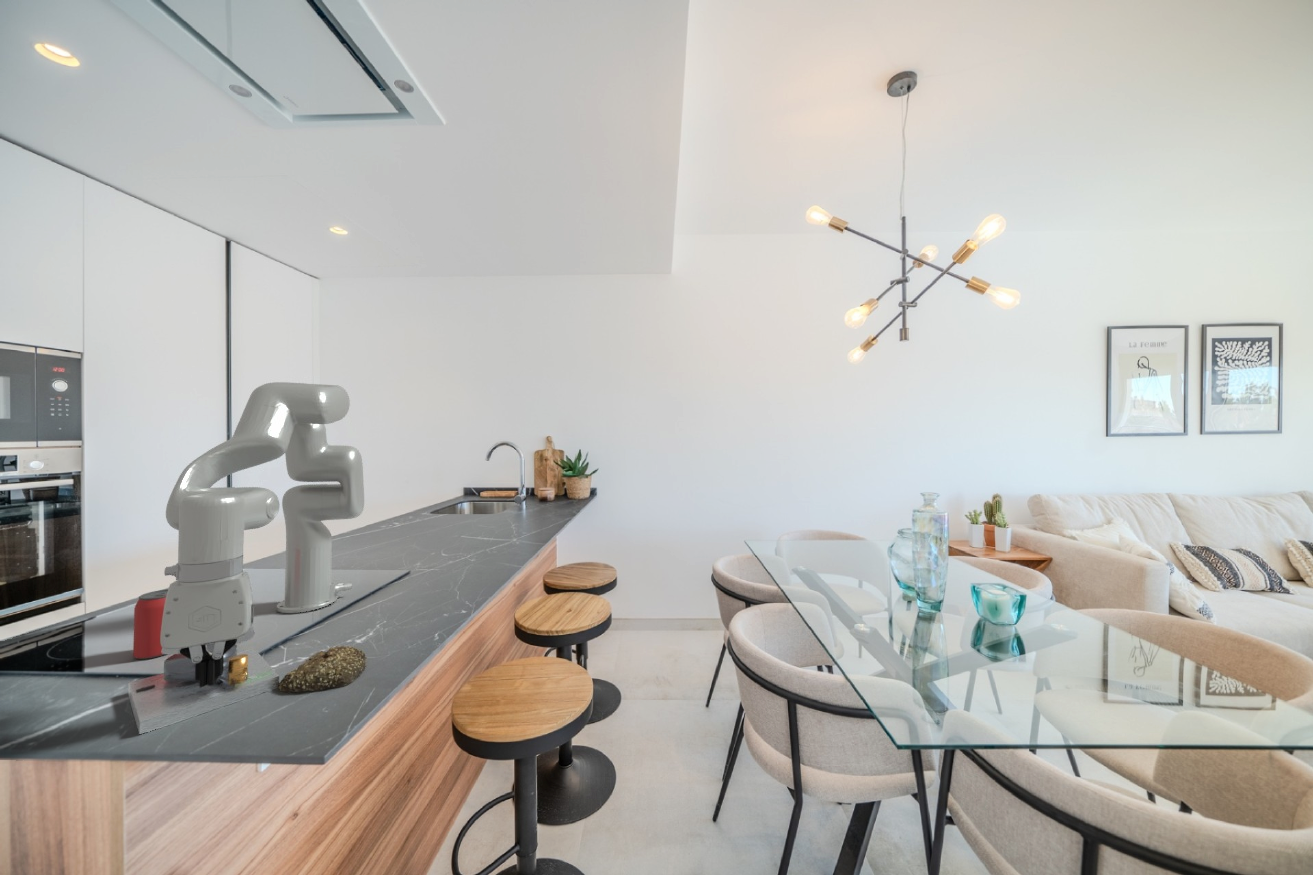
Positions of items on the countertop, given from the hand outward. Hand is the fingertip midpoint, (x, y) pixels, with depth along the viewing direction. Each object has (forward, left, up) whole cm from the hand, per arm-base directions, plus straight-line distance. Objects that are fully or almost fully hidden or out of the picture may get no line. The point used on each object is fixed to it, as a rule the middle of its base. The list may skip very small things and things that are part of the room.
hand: (209, 681), depth 72 cm
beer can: (+3, -33, -4) cm, 34 cm away
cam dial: (-2, -7, -1) cm, 7 cm away
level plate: (0, -7, -4) cm, 8 cm away
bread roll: (-15, +3, -5) cm, 16 cm away
